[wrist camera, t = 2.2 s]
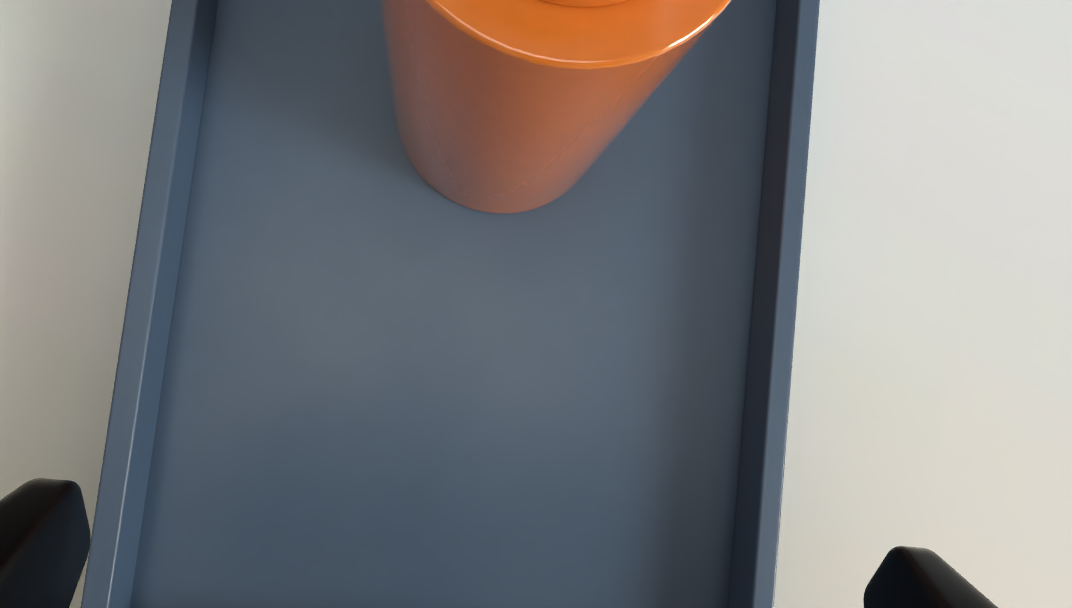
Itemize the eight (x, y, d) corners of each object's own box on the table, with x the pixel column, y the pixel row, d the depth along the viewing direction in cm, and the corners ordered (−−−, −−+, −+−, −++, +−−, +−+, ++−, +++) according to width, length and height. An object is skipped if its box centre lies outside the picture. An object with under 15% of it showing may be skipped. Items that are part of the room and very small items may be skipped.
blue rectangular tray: (730, 675, 21) (766, 713, 19) (110, 641, 19) (68, 679, 17) (789, -56, 23) (828, -101, 21) (228, -160, 21) (204, -223, 19)
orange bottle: (630, 179, 21) (944, -99, 8) (433, 241, 20) (446, 38, 7) (564, -14, 21) (772, -578, 8) (366, 40, 20) (264, -499, 8)
